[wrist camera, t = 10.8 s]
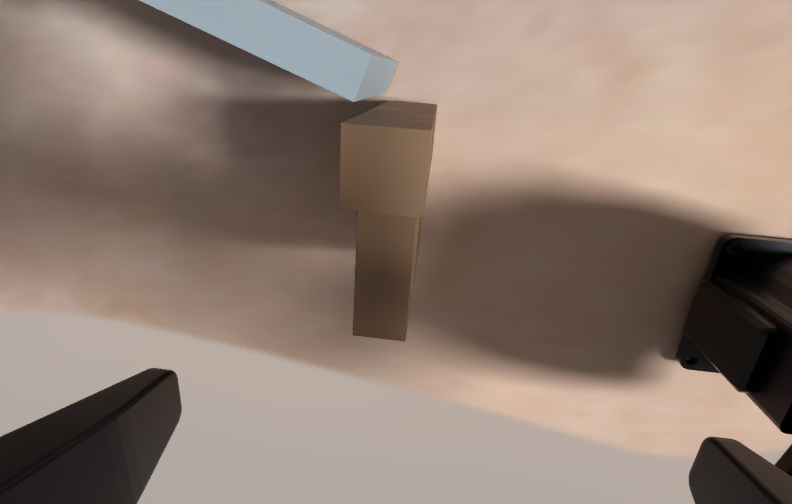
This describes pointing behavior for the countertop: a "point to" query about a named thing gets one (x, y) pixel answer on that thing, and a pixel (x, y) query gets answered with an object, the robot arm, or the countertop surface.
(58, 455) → the robot arm
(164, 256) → the countertop surface
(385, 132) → the fence
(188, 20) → the gate
